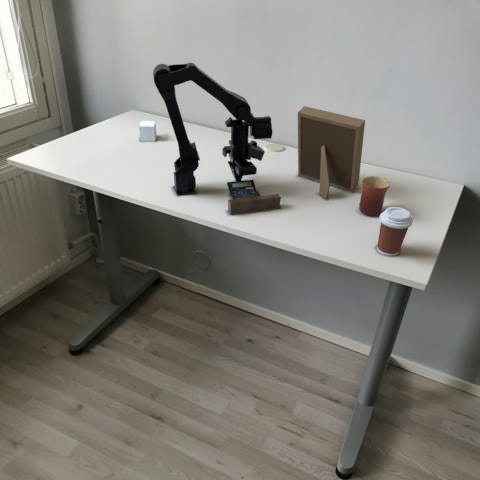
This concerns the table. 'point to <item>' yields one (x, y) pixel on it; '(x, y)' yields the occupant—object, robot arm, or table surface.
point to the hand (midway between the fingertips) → (238, 183)
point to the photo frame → (329, 149)
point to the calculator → (242, 189)
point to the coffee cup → (393, 230)
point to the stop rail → (254, 204)
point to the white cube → (147, 131)
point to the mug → (373, 195)
